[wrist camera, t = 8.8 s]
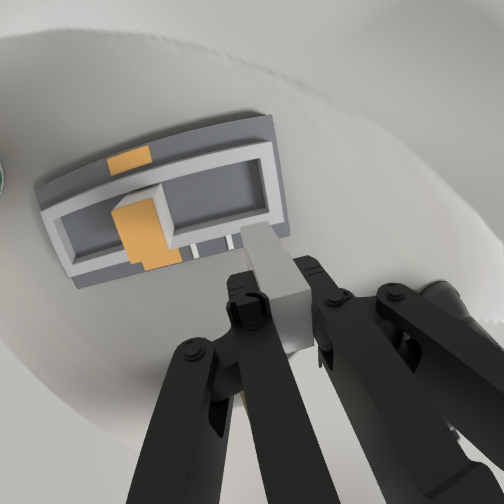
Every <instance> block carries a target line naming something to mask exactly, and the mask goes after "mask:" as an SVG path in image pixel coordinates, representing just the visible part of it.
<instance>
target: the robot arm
mask: <svg viewBox="0 0 504 504" xmlns="http://www.w3.org/2000/svg"><path fill="white" fill-rule="evenodd" d="M240 232H241V236H242V241H243V246H244V250H245V255H246V259H247V264H248V268H249V271H246V272H242V273H238V274H233V275H230V277H229V279H228V281H227V289H228V295H229V301H228V302H227V306H226V310H227V313H228V316H229V319H230V322H231V325H232V326H231V328H230V330H229V331H228V332H227V333H226V334H225V335H224V336H222V337H220V338H219V339H217V340H215V341H212V342H211V341H209V340H207V339H206V338H200V337H197V338H191V339H188V340H186V341H184V342H182V343H181V344H180V345H179V346H178V347H177V348H176V350H175V352H174V354H173V357H172V359H171V362H170V365H169V368H168V371H167V374H166V376H165V379H164V382H163V385H162V388H161V391H160V394H159V397H158V400H157V403H156V406H155V409H154V412H153V415H152V418H151V421H150V424H149V427H148V430H147V433H146V436H145V439H144V443H143V446H142V449H141V452H140V456H139V459H138V463H137V466H136V469H135V473H134V476H133V479H132V483H131V486H130V490H129V493H128V497H127V501H126V504H219V501H220V493H221V486H222V479H223V472H224V465H225V457H226V451H227V443H228V436H229V429H230V422H231V415H232V407H233V400H234V395H235V394H237V393H239V392H241V391H243V390H244V395H245V400H246V406H247V411H248V416H249V420H250V425H251V430H252V435H253V440H254V444H255V449H256V454H257V458H258V462H259V467H260V471H261V476H262V480H263V484H264V489H265V493H266V497H267V501H268V504H341V503H340V500H339V498H338V495H337V492H336V489H335V487H334V484H333V481H332V479H331V476H330V473H329V471H328V468H327V465H326V463H325V460H324V457H323V454H322V452H321V449H320V447H319V444H318V441H317V438H316V436H315V433H314V430H313V428H312V425H311V422H310V419H309V417H308V414H307V411H306V408H305V406H304V403H303V400H302V398H301V395H300V392H299V389H298V387H297V384H296V381H295V378H294V376H293V373H292V370H291V367H290V365H289V362H288V359H287V357H286V354H287V353H291V352H295V351H298V350H301V349H305V348H308V347H311V346H314V337H315V339H316V341H317V343H318V359H319V360H318V361H319V368H321V367H322V363H323V365H324V367H325V369H326V371H327V373H328V375H329V377H330V380H331V382H332V384H333V386H334V388H335V390H336V392H337V394H338V397H339V399H340V401H341V403H342V405H343V407H344V410H345V412H346V414H347V416H348V418H349V420H350V423H351V425H352V427H353V429H354V431H355V434H356V436H357V438H358V440H359V442H360V445H361V447H362V449H363V451H364V453H365V456H366V458H367V460H368V462H369V465H370V467H371V469H372V471H373V474H374V476H375V478H376V480H377V483H378V485H379V487H380V489H381V492H382V494H383V496H384V499H385V501H386V503H387V504H504V493H503V491H502V489H501V487H500V485H499V483H498V482H497V480H496V478H495V476H494V474H493V473H492V471H491V470H490V468H489V467H488V466H487V465H485V464H483V463H481V462H475V461H471V460H470V459H468V457H467V456H466V455H465V453H464V451H463V450H462V448H461V446H460V445H459V442H460V439H461V438H460V436H459V435H458V433H457V431H456V430H458V431H459V432H460V433H461V434H462V435H463V436H464V437H465V438H467V439H468V440H469V441H470V442H471V443H472V444H473V445H474V446H475V447H476V448H477V449H479V450H480V451H481V452H482V453H483V454H484V455H485V456H486V457H487V458H488V459H489V460H490V461H492V462H493V463H494V464H495V465H496V466H498V467H499V468H500V469H501V470H503V471H504V348H502V347H501V346H500V345H499V344H498V343H497V342H496V341H495V340H494V339H493V338H492V337H491V336H490V335H489V334H488V333H487V331H486V330H484V328H483V327H482V326H480V324H478V322H476V321H475V320H474V319H473V318H472V317H471V315H470V314H469V312H468V310H467V308H466V307H465V305H464V303H463V302H462V300H461V299H460V295H459V293H458V291H457V290H456V289H455V288H454V287H453V286H452V285H451V284H450V283H448V282H438V283H436V284H434V285H432V286H430V287H429V288H427V289H426V290H425V291H423V292H422V293H421V294H418V293H417V292H415V291H413V290H412V289H410V288H409V287H407V286H405V285H403V284H400V283H387V284H384V285H382V286H381V287H380V288H379V289H378V291H377V294H376V296H373V297H355V296H354V295H353V294H352V293H351V292H350V291H348V290H346V289H343V288H338V286H337V285H336V284H335V282H334V281H333V280H332V279H331V277H330V276H329V275H328V273H327V272H325V270H324V268H323V267H321V265H320V263H319V262H318V261H317V260H316V259H315V258H313V257H311V256H308V255H307V256H303V257H299V258H295V259H292V258H291V256H290V255H289V253H288V252H287V250H286V249H285V247H284V245H283V244H282V242H281V241H280V239H279V238H278V236H277V235H276V233H275V232H274V230H273V229H272V227H271V226H270V224H269V222H268V221H263V222H259V223H254V224H250V225H246V226H241V227H240Z"/></svg>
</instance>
